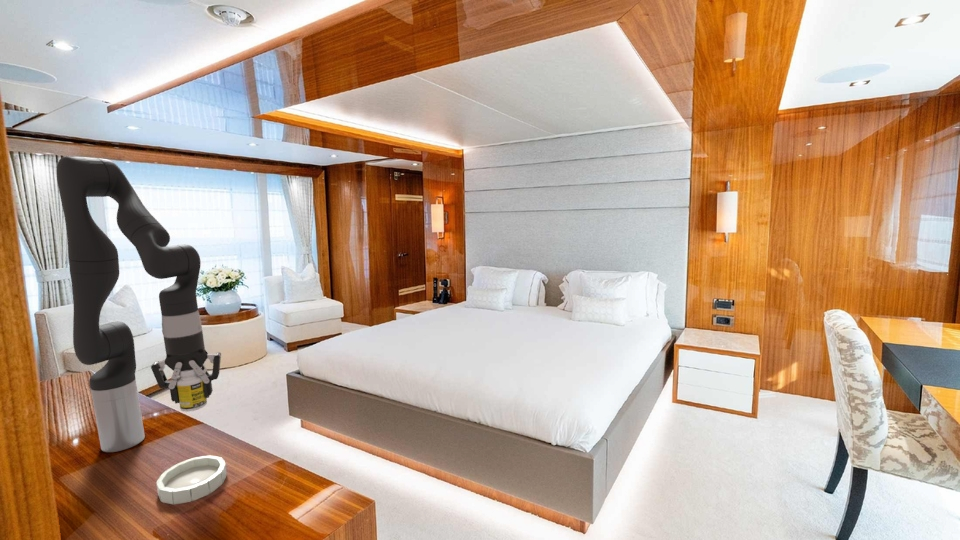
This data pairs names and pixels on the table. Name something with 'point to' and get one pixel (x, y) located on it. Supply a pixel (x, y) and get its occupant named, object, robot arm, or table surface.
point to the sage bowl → (191, 479)
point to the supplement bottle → (190, 391)
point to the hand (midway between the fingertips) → (192, 399)
